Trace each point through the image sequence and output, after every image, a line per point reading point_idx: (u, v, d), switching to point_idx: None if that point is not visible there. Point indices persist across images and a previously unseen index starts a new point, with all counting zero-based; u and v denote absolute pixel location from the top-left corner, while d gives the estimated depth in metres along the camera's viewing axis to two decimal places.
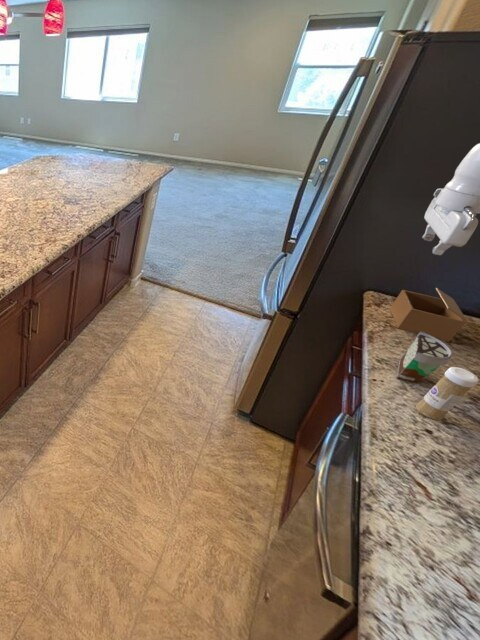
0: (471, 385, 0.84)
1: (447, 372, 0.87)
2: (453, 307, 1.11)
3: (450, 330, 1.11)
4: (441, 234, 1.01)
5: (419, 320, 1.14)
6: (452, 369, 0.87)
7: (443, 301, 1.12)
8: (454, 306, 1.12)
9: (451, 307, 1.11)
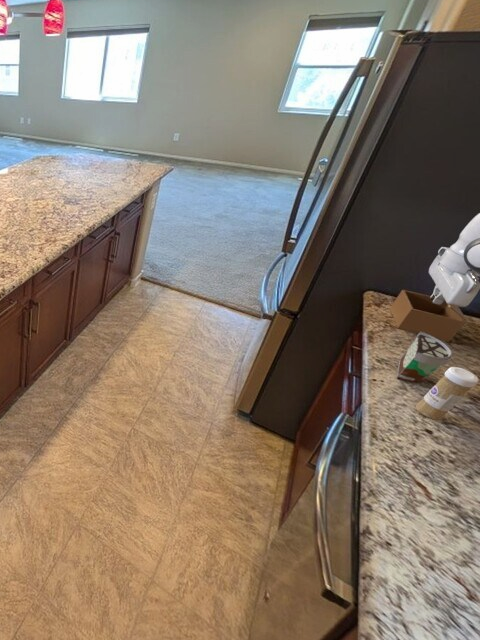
0: (471, 385, 0.84)
1: (447, 372, 0.87)
2: (454, 307, 1.11)
3: (450, 330, 1.11)
4: (445, 294, 1.08)
5: (419, 320, 1.14)
6: (452, 369, 0.87)
7: (445, 300, 1.12)
8: (455, 306, 1.12)
9: (452, 306, 1.10)
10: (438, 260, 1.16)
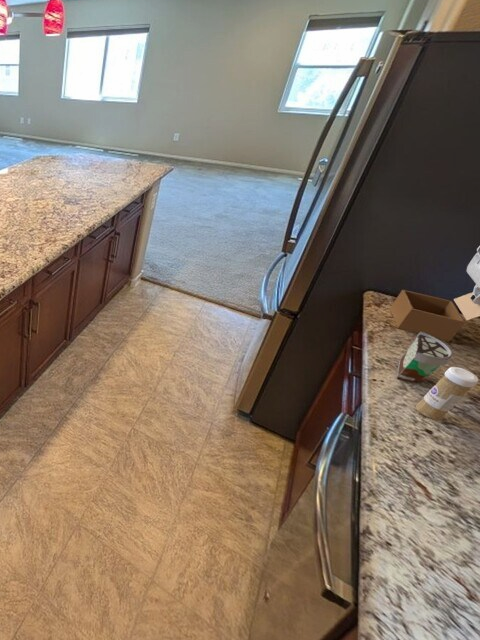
0: (471, 385, 0.84)
1: (447, 372, 0.87)
2: None
3: (450, 330, 1.11)
4: None
5: (419, 320, 1.14)
6: (452, 369, 0.87)
7: None
8: (470, 308, 1.11)
9: None
10: (477, 258, 1.11)
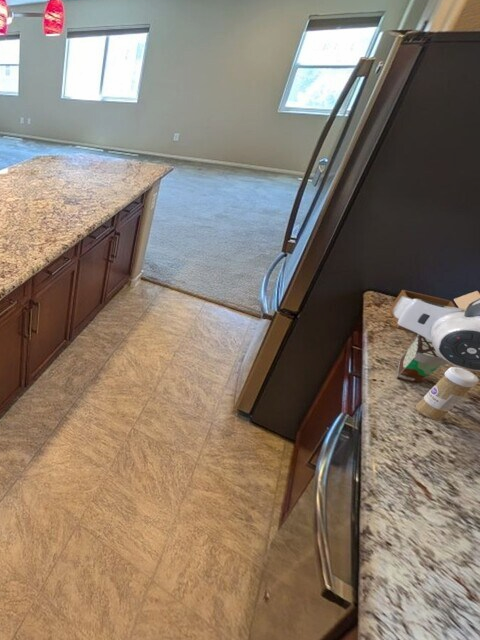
0: (471, 385, 0.84)
1: (447, 372, 0.87)
2: None
3: None
4: None
5: None
6: (452, 369, 0.87)
7: None
8: None
9: None
10: None
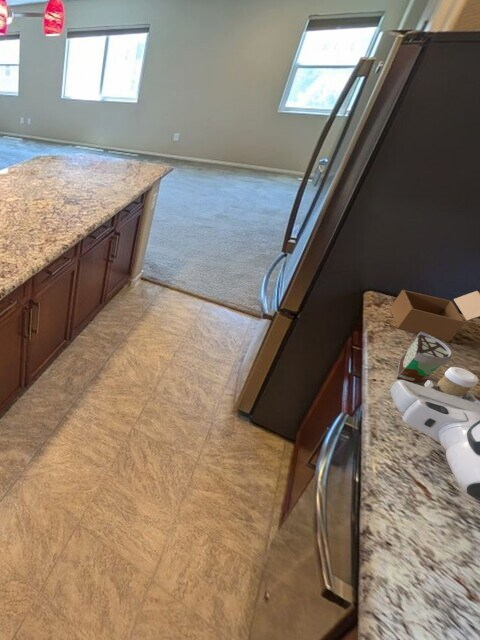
0: (471, 385, 0.84)
1: (447, 372, 0.87)
2: None
3: (450, 330, 1.11)
4: None
5: (419, 320, 1.14)
6: (452, 369, 0.87)
7: None
8: (470, 308, 1.11)
9: None
10: None
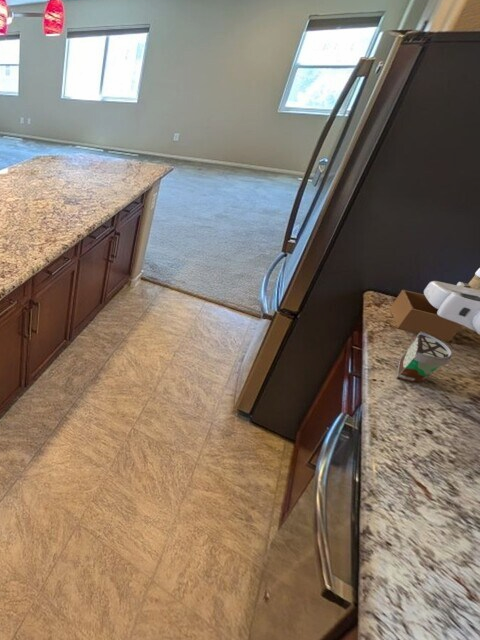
0: None
1: (478, 271, 0.94)
2: None
3: (450, 330, 1.11)
4: None
5: (419, 320, 1.14)
6: None
7: None
8: None
9: None
10: None
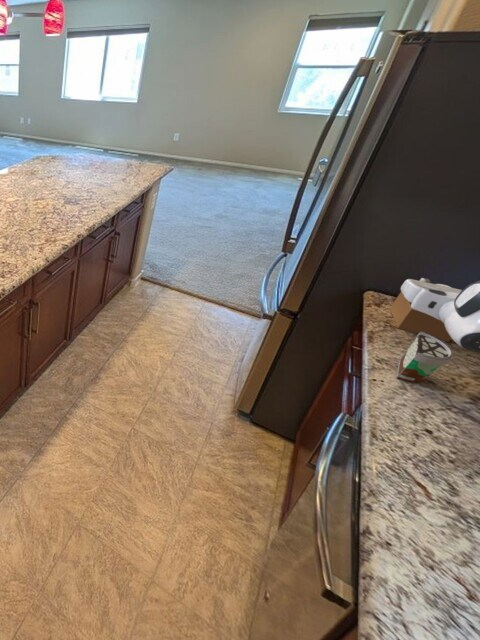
0: None
1: None
2: None
3: None
4: None
5: (419, 320, 1.14)
6: None
7: None
8: None
9: None
10: None
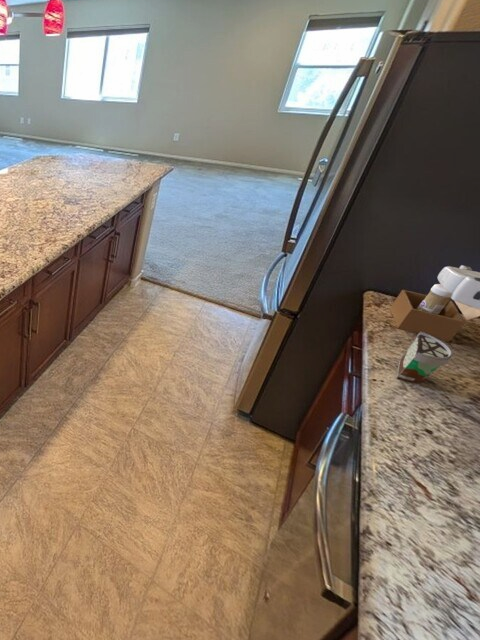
0: (450, 295, 1.11)
1: (432, 288, 1.14)
2: None
3: (450, 330, 1.11)
4: None
5: (419, 320, 1.14)
6: (436, 285, 1.14)
7: None
8: (470, 308, 1.11)
9: None
10: None
